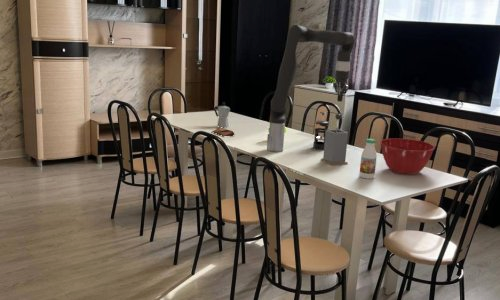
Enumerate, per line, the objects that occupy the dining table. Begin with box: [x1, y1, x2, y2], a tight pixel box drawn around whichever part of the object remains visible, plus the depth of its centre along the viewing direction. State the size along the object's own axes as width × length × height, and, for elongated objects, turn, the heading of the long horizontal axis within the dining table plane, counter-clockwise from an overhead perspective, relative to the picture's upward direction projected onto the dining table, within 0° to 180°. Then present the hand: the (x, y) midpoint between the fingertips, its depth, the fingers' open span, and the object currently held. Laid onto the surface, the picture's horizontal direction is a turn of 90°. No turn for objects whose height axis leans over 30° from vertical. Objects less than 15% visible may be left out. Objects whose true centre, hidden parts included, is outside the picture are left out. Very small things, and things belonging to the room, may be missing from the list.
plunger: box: [335, 113, 342, 133], centre depth 287 cm, size 7×7×14 cm
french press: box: [312, 111, 331, 151], centre depth 323 cm, size 12×9×23 cm
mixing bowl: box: [379, 138, 436, 175], centre depth 279 cm, size 28×28×16 cm
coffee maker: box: [213, 102, 232, 128], centre depth 374 cm, size 15×9×18 cm, turn 58°
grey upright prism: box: [320, 128, 349, 166], centre depth 290 cm, size 11×11×18 cm
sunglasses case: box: [211, 127, 235, 137], centre depth 351 cm, size 18×7×7 cm, turn 37°
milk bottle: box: [358, 138, 378, 180], centre depth 263 cm, size 8×8×20 cm
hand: (339, 101), depth 284 cm, fingers closed
